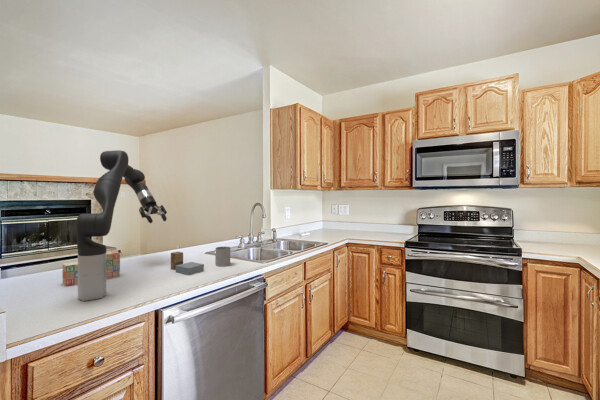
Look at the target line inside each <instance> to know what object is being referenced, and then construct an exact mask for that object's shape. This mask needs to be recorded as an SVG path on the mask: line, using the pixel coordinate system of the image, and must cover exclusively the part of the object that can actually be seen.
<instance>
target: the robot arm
mask: <svg viewBox="0 0 600 400" xmlns="http://www.w3.org/2000/svg"><path fill="white" fill-rule="evenodd" d="M99 160H100V164H101V166H102V167H103V168H104V169H105V170H108V171H107V172H104V174H103V175H101V176H100V177H99V178H97V180H96V183H95V186H94V188H93V196H94V198H95V200H96V201H97V203H98V205H100V207H101V209H102V212H99V213H81V214H79V215H77V218H76V221H75V231H76V246H77V262H78V284H77V299H78V300H79V301H82V302H85V301H86V302H87V301H92V300H99V299H103V297H105V296H106V295H107V279H106V252H107V245H105V244H102V243H99V242H96V241H94V240H93V239H91V238H93V237H94V238H95V237H96V238H97V237H106V236H108V235H109V233H110V231H111V227H112V222H113V215H114V210H115V206H116V203H117V200H118V196H119V193H120V190H121V185H122V181H123V178H124V182H125V183H126V184H127V185H128V186H129V187H130V188H131V189H132V190H133V192H134V193H135V195H136V197H137V199H138V201H139V203H140V205H141V206H140V208H138V212H139V214H140V216H141V218H143V219H144V218H145V219H146V220H147V223H149V224H152V223H153V222H154V221H153V218H152V217H151V215H157V216H160V217H161V219H162V221H163V222H166V221H167V220H168V217H167V216H166V215H167V214H168V212H167V210H166V208H165V207H164V205H162V204H160V205H159V206H158V204H157V201H156V199H155V198H154V196H153V194H152V193H151V191H150V190H149V188H148V186H147V185H146V183H143V182H144V181H145V180H146V176H145V174H144V172H142V171H141V170H139V169H137V168H133V167H132V166H131V165H129V155H128V153H127V152H126V151H124V150H105V151H102V152H101V153H100V156H99Z"/></svg>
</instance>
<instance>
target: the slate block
mask: <svg viewBox="0 0 600 400" xmlns="http://www.w3.org/2000/svg"><path fill="white" fill-rule="evenodd" d="M204 271H205V264H204V263H199V262H195V261H194V262H193V261H189V262H185V263H184V262H183V264H180V265H176V270H175V273H176V274H180V275H185V276H192V275H195V274H199V273H202V272H204Z"/></svg>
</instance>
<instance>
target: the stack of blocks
mask: <svg viewBox="0 0 600 400" xmlns="http://www.w3.org/2000/svg"><path fill="white" fill-rule="evenodd" d="M120 269H121V252H120V251H117V250H112V251H110V250H109V251H107V250H106V280H108V279H113V278H119V277H121V275H120V274H121V273H120V272H121V271H120ZM62 285H64V286H65V287H69V286H74V285H75V286H76V285H78V261H72V262H65V263H62Z"/></svg>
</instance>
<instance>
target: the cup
mask: <svg viewBox="0 0 600 400" xmlns="http://www.w3.org/2000/svg"><path fill="white" fill-rule="evenodd" d="M214 255H215V258H214V260H215V265H214V266H215V267H224V268H225V267H228V266H231V247H230V246H217V247H215V254H214Z"/></svg>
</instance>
